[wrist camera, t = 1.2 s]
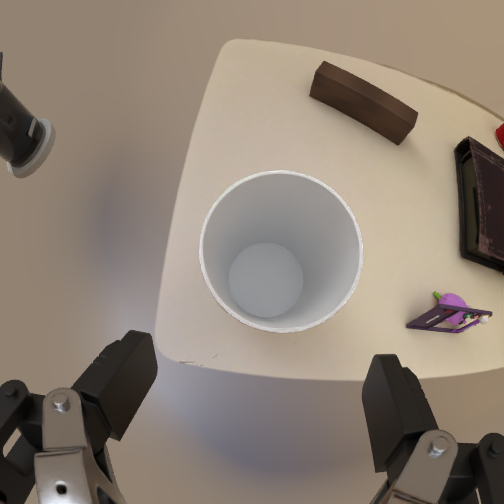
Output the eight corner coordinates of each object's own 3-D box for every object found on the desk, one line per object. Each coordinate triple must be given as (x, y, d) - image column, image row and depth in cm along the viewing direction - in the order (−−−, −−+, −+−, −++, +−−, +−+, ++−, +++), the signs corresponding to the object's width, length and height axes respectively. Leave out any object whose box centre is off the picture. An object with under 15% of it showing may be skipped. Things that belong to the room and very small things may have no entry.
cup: (304, 320, 28) (365, 331, 13) (224, 318, 28) (193, 330, 13) (305, 242, 30) (357, 175, 14) (227, 239, 30) (204, 167, 14)
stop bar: (308, 95, 34) (315, 71, 29) (317, 84, 35) (323, 60, 30) (398, 145, 33) (414, 126, 28) (403, 132, 33) (418, 112, 28)
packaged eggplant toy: (440, 314, 22) (494, 321, 22) (435, 266, 25) (487, 279, 24) (405, 334, 28) (458, 338, 27) (404, 292, 30) (455, 301, 30)
